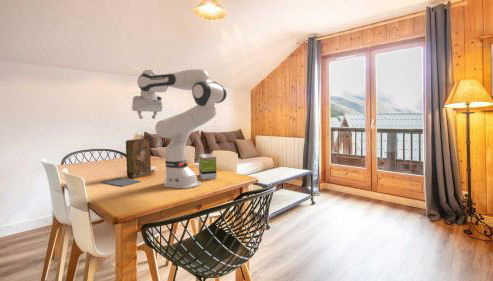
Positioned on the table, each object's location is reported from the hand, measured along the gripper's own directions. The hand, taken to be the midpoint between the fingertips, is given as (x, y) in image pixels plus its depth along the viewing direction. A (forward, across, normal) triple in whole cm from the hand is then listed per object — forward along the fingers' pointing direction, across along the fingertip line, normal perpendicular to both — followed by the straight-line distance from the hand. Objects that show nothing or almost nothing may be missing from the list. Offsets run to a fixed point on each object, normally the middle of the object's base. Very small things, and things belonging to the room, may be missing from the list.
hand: (147, 118), depth 164 cm
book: (+40, +2, +9) cm, 41 cm away
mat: (+40, -15, +4) cm, 43 cm away
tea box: (+36, +25, -32) cm, 54 cm away
